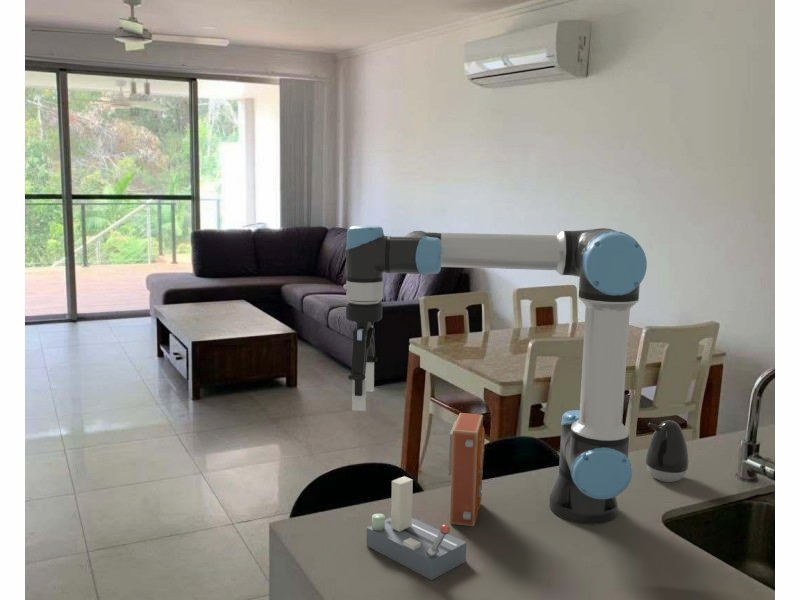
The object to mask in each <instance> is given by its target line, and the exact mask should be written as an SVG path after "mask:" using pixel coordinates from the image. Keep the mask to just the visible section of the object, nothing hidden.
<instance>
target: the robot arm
mask: <svg viewBox="0 0 800 600" xmlns="http://www.w3.org/2000/svg"><path fill="white" fill-rule="evenodd" d="M345 245H346V247H345V279H346V284H344V285H343V289H344V290H346V294H345V295H346V300H347V302H346V303H345V318H346V320H347V321H349V322H354V323H356V326H355V329H353V331H352V336H353V339H352V340H353V341H352V342H353V343H352V356H351V369H350V372H351V373H350V375H347V376H348V380H349V381H350V380H352V381H351V384H352V386H351V389H352V390H351V411H353V412H355V411H356V412H357V411H359V412H366V411H367V393H368V392H370V393H373V392H375V362H378V356H376V348H375V346H376V345H375V326H374V324H375V323H376V322H379V321H381V320H382V319H383V303H382V299H384V280H383V274H385V273H386V274H407V275H408V274H412V275H421V276H425V275H436V274H439V273H440V272H441V268H466V269H467V268H468V269H469V268H470V269H471V268H473V269H499V270H500V269H504V270H506V269H507V270H533V271H534V270H535V271H536V270H537V271H556V272H557V274H559V275H560V276H572V277H578V278H579V281H578V299H579V300H580V301H581V302H582V304H584V305H585V311H584V313H585V314H584V331H583V332H584V333H583V344H582V345H583V348H582V364H581V366H582V367H581V379H580V380H581V382H580V384H581V385H580V396H579V397H580V401H579V409H574V410H568V411H566V412H564V413H563V414H562V416H561V417H562V418H561V423H560V427H561V428H560V430H561V431H560V432H561V433H560V445H559V463H558V465H559V466H558V475H557V478H556V480H555V482H554V485H553V488H552V490H551V493H550V494H549V495H550V496H549V505H548V506H549V510H551V512H552V513H553V514H554V515H556V516H558V517H560V518H561V519H564V520H566V521H570V522H574V523H578V524H579V523H580V524H589V525H595V524H597V525H598V524H605V523H608V522H611V521H613V520H614V519H615V518H616V517H617V516H618V515H617V514H618V501H617V496H619V495H620V494H622V493H623V492H625V490H626V489H627V488H628V487H629V486H630V483H631V482H632V477H633V468H632V464H631V460H630V459H629V446H630V445H629V444H630V431H629V429H628V428H627V427H626V425H624V424H623V415H624V400H625V385H626V372H627V358H628V341H629V329H630V313H631V312H630V311H631V309H632V308H633V306H635V305H636V304H637V303H639V299H640V298H639V297H640V287H641V283H642V281H644V278H645V275H646V272H647V266H648V264H647V263H648V262H647V261H648V260H647V256H646V253H645V251H644V249H643V247H642V246H641V244H639V242H638V241H637V240H636V239H635V238H634V237H633V236H631V235H630V234H628V233H625V232H622V231H617V230H615V229H611V228H604V227H601V228H589V229H585V230H584V229H582V230H561V231H560V232H559V233H558V234H557V235H555V234H520V233H519V234H517V233H516V234H513V233H509V234H508V233H475V232H474V233H473V232H471V233H470V232H469V233H468V232H467V233H466V232H465V233H464V232H426V231H424V230H413V231H411V232H409V233H407V234H406V235H405V236H390V235H389V236H388V235H385V233H384V228H383V227H382V226H380V225H364V224H363V225H352V226H350V227H348V229H347V231H346V244H345Z"/></svg>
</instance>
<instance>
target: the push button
mask: <svg viewBox="0 0 800 600" xmlns="http://www.w3.org/2000/svg"><path fill="white" fill-rule="evenodd" d="M385 519H386V516H385V514H383V513H374V514H372V515H371V526H372V529H374V530H377V531H379V530H383V529H384V528H385Z"/></svg>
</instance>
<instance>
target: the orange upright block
mask: <svg viewBox="0 0 800 600" xmlns="http://www.w3.org/2000/svg"><path fill="white" fill-rule="evenodd" d="M483 421H484V415H483V414H479V413H475V414H474V413H468V412H467V413H463V412H460V413H458V417H457V420H454V422H453V426H452V427H451V430H450V432H449V435H448V436H449V443H448V445H449V447H448V448H449V449H448V451H449V452H448V471H447V474H448V476H450V477H451V479H450V506H449V507H450V509H449V514H450V515H449V523H450V525H458V526H467V527H475V524H476V521H477V517H478V512H479V509H480V508H481V503H482V499H483V498H482V497H483V495H482V489H483V472H484V471H483V467H484V457H485V444H486V443H485V440H486V439H485V438H486V436H485V435H486V433H485V432H486V431H485V427H484V425H483Z"/></svg>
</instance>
